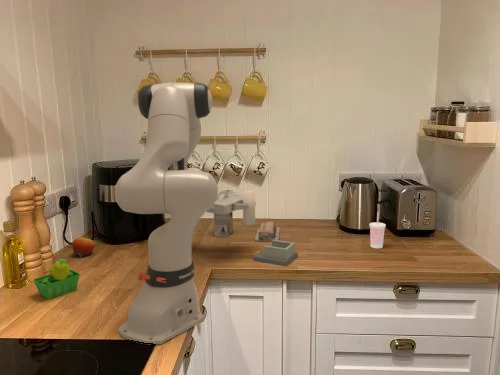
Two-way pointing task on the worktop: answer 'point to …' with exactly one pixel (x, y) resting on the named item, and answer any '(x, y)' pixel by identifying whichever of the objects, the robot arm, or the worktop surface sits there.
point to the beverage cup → (377, 233)
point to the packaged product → (267, 232)
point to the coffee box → (223, 224)
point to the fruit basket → (57, 280)
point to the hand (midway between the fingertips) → (251, 205)
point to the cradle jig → (277, 253)
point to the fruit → (83, 246)
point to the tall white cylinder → (249, 207)
